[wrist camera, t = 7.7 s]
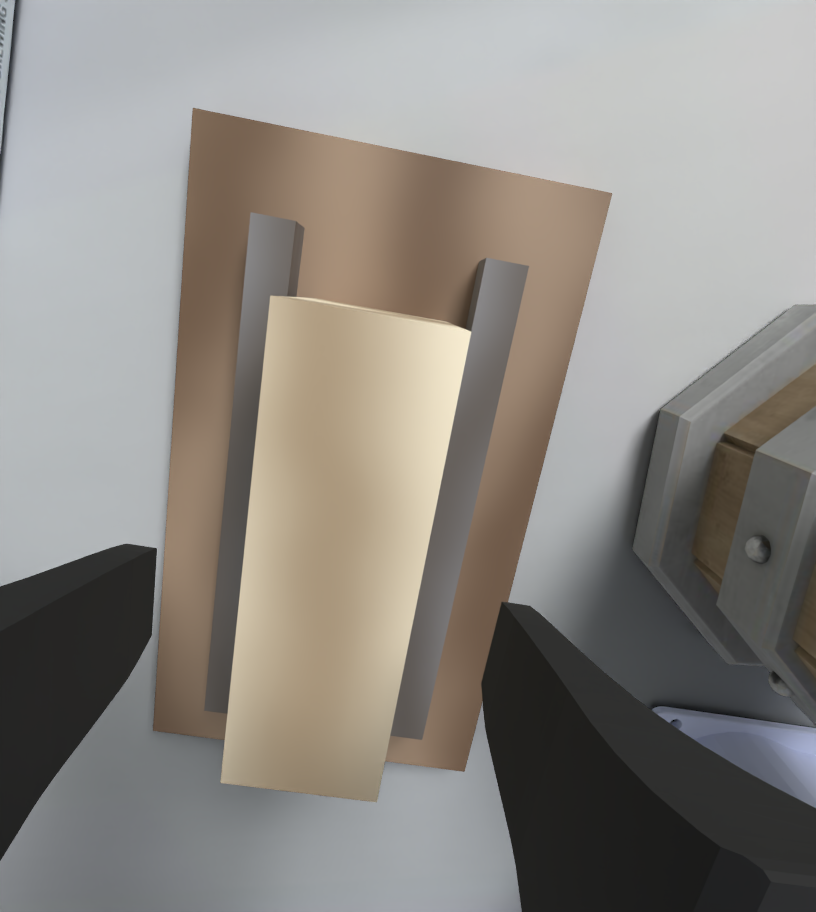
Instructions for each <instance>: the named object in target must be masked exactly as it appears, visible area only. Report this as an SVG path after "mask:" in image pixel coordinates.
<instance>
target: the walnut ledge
mask: <svg viewBox="0 0 816 912" xmlns="http://www.w3.org/2000/svg"><path fill="white" fill-rule="evenodd" d="M611 196H612V193H609V192H604V191H599V190H594V189H589V188H584V187H579V186H574V185H569V184H564V183H559V182H555V181H550V180H545V179H540V178H535V177H530V176H525V175H520V174H515V173H510V172H505V171H500V170H496V169H491V168H486V167H481V166H476V165H471V164H466V163H461V162H456V161H451V160H446V159H441V158H437V157H432V156H427V155H422V154H417V153H412V152H407V151H402V150H397V149H392V148H387V147H382V146H378V145H373V144H368V143H363V142H358V141H353V140H348V139H343V138H338V137H333V136H328V135H324V134H319V133H314V132H309V131H304V130H299V129H294V128H289V127H284V126H279V125H274V124H269V123H265V122H260V121H255V120H250V119H245V118H240V117H235V116H230V115H225V114H220V113H215V112H210V111H206V110H201V109H196V108H193V113H192V129H191V145H190V160H189V176H188V191H187V207H186V223H185V238H184V254H183V270H182V285H181V301H180V317H179V332H178V348H177V364H176V379H175V395H174V410H173V426H172V442H171V457H170V473H169V489H168V504H167V520H166V536H165V551H164V567H163V582H162V598H161V614H160V629H159V645H158V661H157V676H156V692H155V708H154V723H153V731H160V732H167V733H175V734H182V735H190V736H198V737H205V738H213V739H220V740H225V733H226V723H227V714H228V704H229V694H230V684H231V675H232V665H233V655H234V645H235V636H236V626H237V616H238V606H239V597H240V587H241V577H242V567H243V558H244V548H245V538H246V528H247V519H248V509H249V499H250V489H251V480H252V470H253V460H254V450H255V440H256V431H257V421H258V411H259V401H260V392H261V382H262V372H263V362H264V353H265V343H266V333H267V323H268V314H269V304H270V296H287V297H304V298H317V299H323V300H329V301H334V302H340V303H345V304H351V305H356V306H362V307H367V308H373V309H379V310H384V311H390V312H395V313H401V314H406V315H412V316H417V317H423V318H428V319H434V320H440V321H445V322H448V323H451V324H453V325H456V326H458V327H461V328H463V329H466V330H468V331H471V336H470V341H469V346H468V351H467V356H466V361H465V366H464V371H463V376H462V381H461V386H460V391H459V396H458V401H457V406H456V411H455V416H454V421H453V426H452V431H451V436H450V441H449V446H448V451H447V456H446V461H445V466H444V470H443V475H442V480H441V485H440V490H439V495H438V500H437V505H436V510H435V515H434V520H433V525H432V530H431V535H430V540H429V545H428V550H427V555H426V560H425V565H424V570H423V575H422V580H421V585H420V590H419V595H418V600H417V605H416V610H415V615H414V620H413V625H412V630H411V635H410V640H409V645H408V649H407V654H406V659H405V664H404V669H403V674H402V679H401V684H400V689H399V694H398V699H397V704H396V709H395V714H394V719H393V724H392V729H391V734H390V739H389V744H388V749H387V754H386V759H385V761H388V762H395V763H403V764H410V765H418V766H426V767H433V768H441V769H448V770H456V771H463V772H464V771H465V767H466V763H467V760H468V756H469V752H470V748H471V744H472V740H473V736H474V732H475V728H476V724H477V720H478V716H479V713H480V709H481V705H482V701H483V700H482V688H481V682H482V678H483V674H484V670H485V666H486V662H487V658H488V654H489V650H490V646H491V642H492V638H493V634H494V630H495V626H496V622H497V618H498V614H499V610H500V606H501V602H508V599H509V595H510V591H511V587H512V584H513V580H514V576H515V572H516V568H517V564H518V560H519V556H520V552H521V548H522V544H523V541H524V537H525V533H526V529H527V525H528V521H529V517H530V513H531V509H532V505H533V501H534V498H535V494H536V490H537V486H538V482H539V478H540V474H541V470H542V466H543V462H544V458H545V454H546V451H547V447H548V443H549V439H550V435H551V431H552V427H553V423H554V419H555V415H556V411H557V408H558V404H559V400H560V396H561V392H562V388H563V384H564V380H565V376H566V372H567V368H568V365H569V361H570V357H571V353H572V349H573V345H574V341H575V337H576V333H577V329H578V325H579V322H580V318H581V314H582V310H583V306H584V302H585V298H586V294H587V290H588V286H589V282H590V279H591V275H592V271H593V267H594V263H595V259H596V255H597V251H598V247H599V243H600V239H601V235H602V232H603V228H604V224H605V220H606V216H607V212H608V208H609V204H610V200H611Z"/></svg>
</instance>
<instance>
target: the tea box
mask: <svg viewBox="0 0 816 912" xmlns="http://www.w3.org/2000/svg"><path fill="white" fill-rule="evenodd" d="M14 5H15V0H0V152H1V143H2V131H3V119H4V109H5V99H6V90H7V80H8V70H9V60H10V49H11V38H12V27H13V15H14Z"/></svg>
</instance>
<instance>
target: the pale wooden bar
mask: <svg viewBox="0 0 816 912" xmlns="http://www.w3.org/2000/svg"><path fill="white" fill-rule="evenodd" d="M470 336H471V331H468V330H466V329H463V328H461V327H458V326H456V325H453V324H451V323H448V322H445V321H440V320H434V319H428V318H423V317H417V316H412V315H406V314H401V313H395V312H390V311H384V310H379V309H373V308H367V307H362V306H356V305H351V304H345V303H340V302H334V301H329V300H323V299H317V298H304V297H287V296H270V304H269V314H268V323H267V333H266V343H265V353H264V362H263V372H262V382H261V392H260V401H259V411H258V421H257V431H256V440H255V450H254V460H253V470H252V480H251V489H250V499H249V509H248V519H247V528H246V538H245V548H244V558H243V567H242V577H241V587H240V597H239V606H238V616H237V626H236V636H235V645H234V655H233V665H232V675H231V684H230V694H229V704H228V714H227V723H226V733H225V743H224V753H223V762H222V772H221V782H220V783H225V784H233V785H241V786H249V787H257V788H265V789H273V790H281V791H290V792H298V793H306V794H314V795H322V796H330V797H338V798H346V799H354V800H362V801H370V802H377V799H378V794H379V789H380V784H381V779H382V774H383V769H384V764H385V759H386V754H387V749H388V744H389V739H390V734H391V729H392V724H393V719H394V714H395V709H396V704H397V699H398V694H399V689H400V684H401V679H402V674H403V669H404V664H405V659H406V654H407V649H408V645H409V640H410V635H411V630H412V625H413V620H414V615H415V610H416V605H417V600H418V595H419V590H420V585H421V580H422V575H423V570H424V565H425V560H426V555H427V550H428V545H429V540H430V535H431V530H432V525H433V520H434V515H435V510H436V505H437V500H438V495H439V490H440V485H441V480H442V475H443V470H444V466H445V461H446V456H447V451H448V446H449V441H450V436H451V431H452V426H453V421H454V416H455V411H456V406H457V401H458V396H459V391H460V386H461V381H462V376H463V371H464V366H465V361H466V356H467V351H468V346H469V341H470Z"/></svg>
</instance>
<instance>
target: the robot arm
mask: <svg viewBox="0 0 816 912" xmlns="http://www.w3.org/2000/svg"><path fill="white" fill-rule="evenodd" d="M156 555H157V548H151V547H145V546H138V545H132V544H123V545H119V546H116V547H112V548H109V549H106V550H103V551H100V552H97V553H94V554H92V555H89V556H86V557H83V558H81V559H78V560H75V561H72V562H70V563H67V564H64V565H61V566H59V567H56V568H53V569H50V570H48V571H45V572H42V573H39V574H37V575H34V576H31V577H28V578H25V579H22V580H19V581H16V582H13V583H10V584H7V585H4V586H1V587H0V860H1V859H2V857H3V856H4V854H5V852H6V851H7V849H8V847H9V846H10V844H11V843H12V841H13V839H14V838H15V836H16V834H17V833H18V831H19V830H20V828H21V826H22V825H23V823H24V822H25V820H26V818H27V817H28V815H29V813H30V812H31V810H32V809H33V807H34V805H35V804H36V802H37V801H38V800H39V798H40V797H41V795H42V794H43V792H44V791H45V789H46V788H47V787H48V785H49V784H50V782H51V781H52V779H53V778H54V777H55V775H56V774H57V773H58V771H59V770H60V769H61V767H62V766H63V765H64V763H65V762H66V761H67V759H68V758H69V757H70V755H71V754H72V753H73V751H74V750H75V749H76V748H77V746H78V745H79V744H80V742H81V741H82V740H83V738H84V737H85V736H86V734H87V733H88V732H89V730H90V729H91V728H92V726H93V725H94V724H95V722H96V721H97V720H98V718H99V717H100V716H101V714H102V713H103V712H104V710H105V709H106V708H107V706H108V705H109V703H110V702H111V701H112V699H113V698H114V697H115V695H116V694H117V693H118V691H119V690H120V689H121V687H122V686H123V684H124V683H125V682H126V680H127V679H128V677H129V675H130V674H131V672H132V670H133V668H134V667H135V665H136V663H137V662H138V660H139V658H140V656H141V654H142V652H143V651H144V649H145V647H146V645H147V643H148V641H149V639H150V638H151V636H152V620H153V604H154V587H155V571H156ZM481 688H482V700H483V711H484V720H485V729H486V734H487V739H488V743H489V747H490V752H491V756H492V761H493V765H494V770H495V774H496V778H497V782H498V787H499V791H500V795H501V800H502V804H503V808H504V812H505V817H506V821H507V825H508V830H509V834H510V838H511V843H512V848H513V854H514V859H515V864H516V871H517V878H518V886H519V893H520V901H521V908H522V912H816V728H812V727H805V726H798V725H790V724H783V723H776V722H769V721H762V720H755V719H748V718H741V717H734V716H727V715H720V714H713V713H706V712H699V711H692V710H685V709H678V708H671V707H664V706H658V707H655V708H653V709H652V710H650V709H649V708H648V707H646V706H645V705H644V704H642V703H641V702H640V701H639V700H637V699H636V698H635V697H633V696H632V695H631V694H630V693H628V692H627V691H626V690H625V689H624V688H622V687H621V686H620V685H619V684H617V683H616V682H615V681H614V680H613V679H611V678H610V677H609V676H608V675H607V674H605V673H604V672H603V671H602V670H601V669H600V668H599V667H597V666H596V665H595V664H594V663H593V662H592V661H591V660H589V659H588V658H587V657H586V656H585V655H584V654H583V653H582V652H581V651H580V650H578V649H577V648H576V647H575V646H574V645H573V644H572V643H571V642H570V641H569V640H568V639H567V638H566V637H564V636H563V635H562V634H561V633H560V632H559V631H558V630H557V629H556V628H555V627H554V626H553V625H552V624H551V623H549V622H548V621H547V620H546V619H545V618H544V617H543V616H542V615H541V614H539V613H538V612H537V611H536V610H535V609H533V608H532V607H531V606H527V605H521V604H514V603H508V602H501V606H500V610H499V614H498V618H497V622H496V626H495V630H494V634H493V638H492V642H491V646H490V650H489V654H488V658H487V662H486V666H485V670H484V674H483V678H482V682H481ZM674 719H676V721H674V722H672V723H670V722H671V721H672V720H674Z"/></svg>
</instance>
